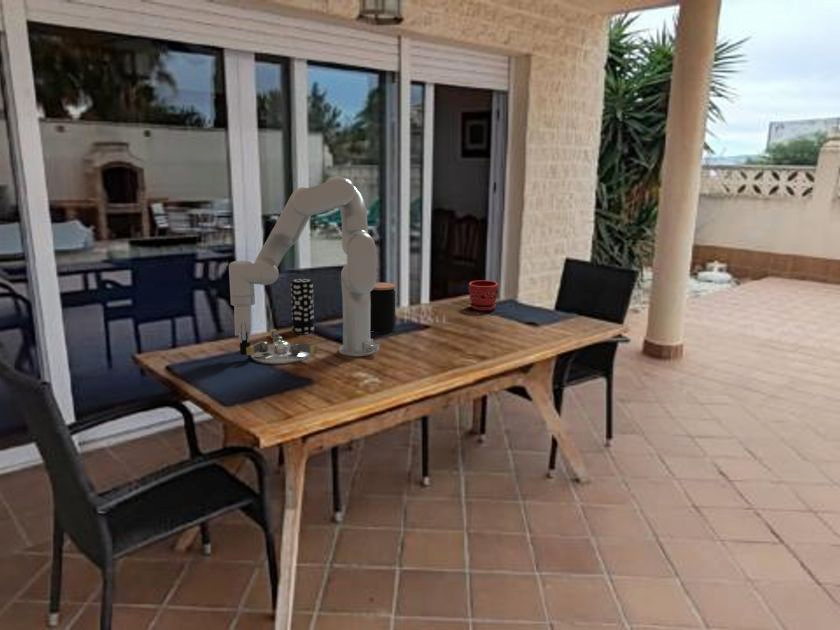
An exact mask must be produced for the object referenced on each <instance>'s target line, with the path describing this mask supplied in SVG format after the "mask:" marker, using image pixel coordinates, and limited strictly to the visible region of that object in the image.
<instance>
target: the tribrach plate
mask: <svg viewBox="0 0 840 630" xmlns="http://www.w3.org/2000/svg"><path fill="white" fill-rule="evenodd" d="M290 344H291V343H289V341H288V340H285V339H282V340H278V341H275V342H274V343H273V342H272V343H270V344H268V351H267V352H256V353H254V354H253V355H250V358H251V360H252V359H253V361H254V360H255V361H254V362H256V363H258V364H259V363H260V364H264V365H287V364H288V365H290V364H295V363H299V362H302V361H305V360H307V359H309V358H310V357H311V356H312V354H310V353H307V352H301V351H300V353H299V354H291V347H290ZM273 345H274V346H273Z"/></svg>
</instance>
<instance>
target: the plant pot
mask: <svg viewBox="0 0 840 630" xmlns="http://www.w3.org/2000/svg"><path fill="white" fill-rule="evenodd" d="M498 291H499V283H498V282H497V281H493V280H488V279H487V280H485V279H484V280H473V281H470V282H469V283H468V295H469V300H470V302H471V303H469V304H470V307H471V308H472V309H474V310H477V311H483V312H484V311H486V312H487V311H492V310H494V309H495V308H496V306H497V304H496V303H495V302H496V301H497V298H498V294H499V292H498Z"/></svg>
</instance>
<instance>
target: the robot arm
mask: <svg viewBox="0 0 840 630" xmlns="http://www.w3.org/2000/svg"><path fill="white" fill-rule="evenodd" d="M337 208H339V211H340V219H341V247H342V251H343V252H344V254H346V261H347V262H346V264H345V265H343V267H342V269H341V273H340V282H341V295H342V296H341V298H342V345H340V346H339V347H338V353H339V354H340V355H342V356H346V357H357V358H359V357H365V356H370V355H373V354H374V353H376V352H379V351H380V344H379V343H374V338H371V331H370V308H371V301H370V292H371V291H372V290H373V288H374V287H375V284H376V283H377V272H378V271H377V248H376V243H375V240H374V238H373V237H372V236H371V235H370V234H369V228H368V214H367V211H368V210H367V205H366V202H365V200H364V197H363V196H362V194H361V192H360V191H359V190H358V189H357V187H356V186H355V185H354V183H353V182H352V181H351V180H350V179H348V178H347V177H343V176H339V175H338V176H337V175H335V176H331V177H329V178H328V179H326V180H325V182H322V183H320V184H316V185H313V186H310V187H305V186H303V187H298V188H296V189H295V190H294V191H293V192H292V193H291V195H290V196H289V198H288V200H287V202H286V204H285V205H284V208H283V210H282V212H281V213H280V216H279V217H278V219H277V221H276V223H275V225H274V227H273V228H272V230H271V232H270V234H269V235H268V237H267V239H266V241H265V243H264V244H263V246H262V247H261V249H260V251H259V253H258V255H257V257H256V258H255V261H254V263H252V262H251V261H248V260H235V261H231V262H230V263H229V264H228V276H229V278H228V279H229V293H230V294H229V295H230V305H231V306H233V307H234V309H233V313H234V314H233V315H234V317H233V318H234V320H233V321H234V335H235V336H236V337H238V336H239V340H240V341H239V351H240V355H241V356H243V355H244V356H245V355H246V356H248V355H247V353H246V347H248V346H251V341H250V335H251V334H252V325H253V324H252V322H253V321H252V320H253V319H252V318H253V317H252V314H253V313H252V306H254V305H255V304H256V300H255V299H256V298H255V294H256V293H255V285H262V286H269V285H273V284H274V283H275V282H277V280H278V278H279V275H280V274H279V269H278V267H279V265H280V264H281V262H282V260H283V258H284V256H285V254H286V253H287V252H288V251H289V249H290V248H291V247H292V246H293V245H295V244H296V243H297V242H298V241H299V239H300V237H301V236H302V233H303V232H304V230H305V228H306V226H307V224H308V222H309V221H310V218H311V217H312V216H314V215H315V216H316V215H319V214H321V213H325V212H328V211H330V210H334V209H337Z"/></svg>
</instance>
